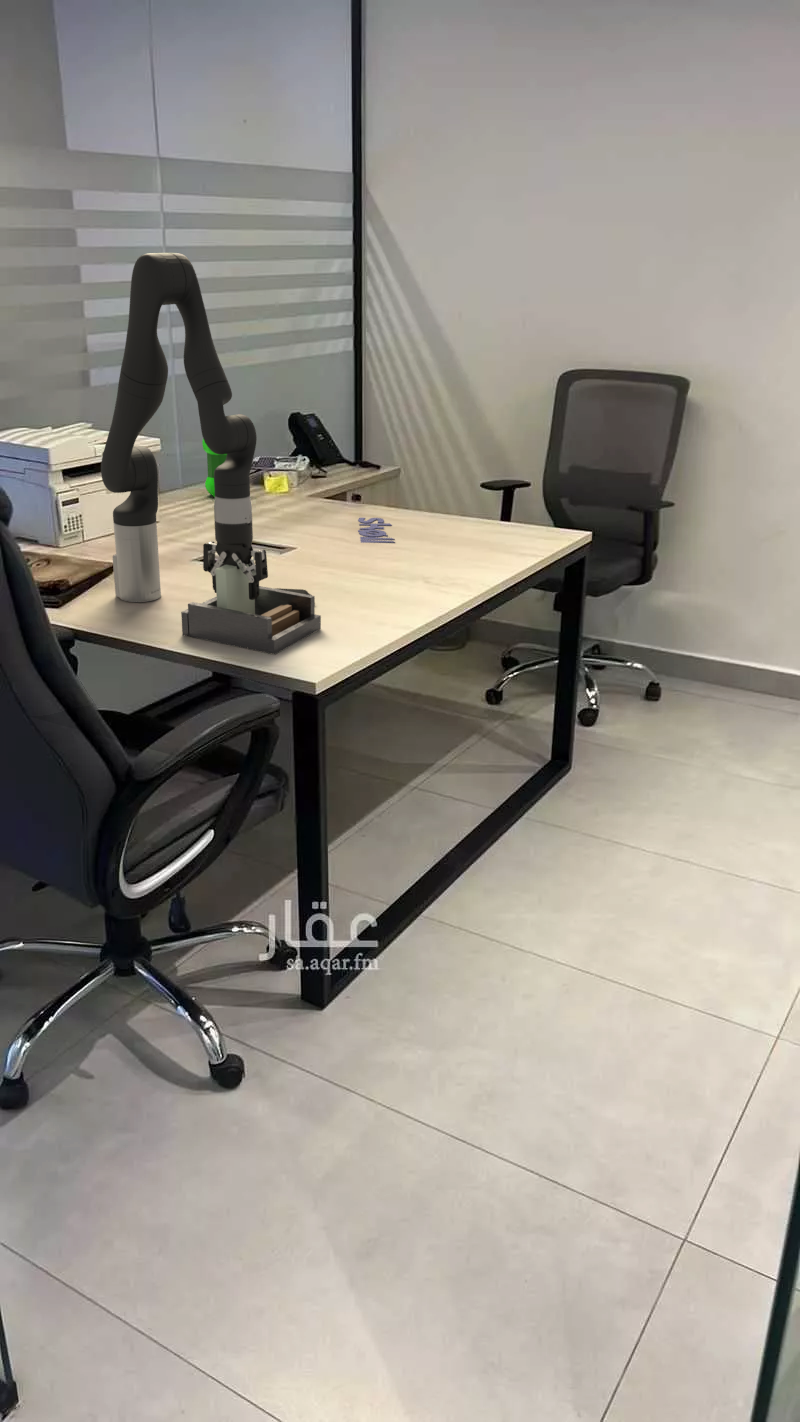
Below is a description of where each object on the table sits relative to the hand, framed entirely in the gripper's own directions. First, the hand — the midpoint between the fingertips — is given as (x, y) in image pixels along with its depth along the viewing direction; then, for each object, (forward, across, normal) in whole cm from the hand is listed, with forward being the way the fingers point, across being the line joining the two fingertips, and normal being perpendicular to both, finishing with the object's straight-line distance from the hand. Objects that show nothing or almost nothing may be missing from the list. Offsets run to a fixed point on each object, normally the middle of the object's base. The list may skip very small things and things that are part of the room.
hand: (236, 595), depth 221 cm
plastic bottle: (+7, -77, +104) cm, 130 cm away
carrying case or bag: (+8, +1, +18) cm, 20 cm away
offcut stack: (+8, +9, 0) cm, 12 cm away
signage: (+8, -15, +92) cm, 93 cm away
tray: (+7, +4, 0) cm, 8 cm away
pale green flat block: (+7, 0, 0) cm, 7 cm away
